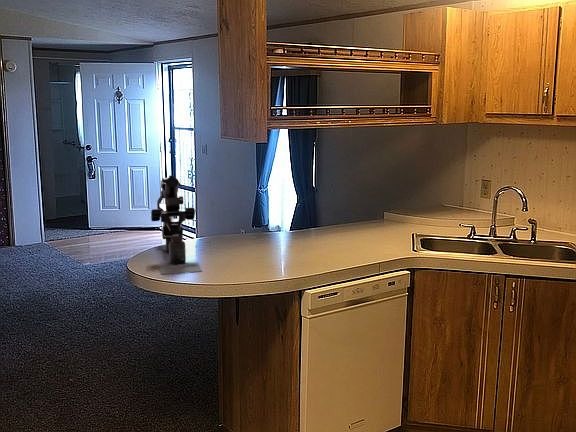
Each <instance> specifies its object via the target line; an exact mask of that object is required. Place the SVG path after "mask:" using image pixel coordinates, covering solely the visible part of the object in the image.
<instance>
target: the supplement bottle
mask: <svg viewBox="0 0 576 432" xmlns="http://www.w3.org/2000/svg"><path fill="white" fill-rule="evenodd" d="M183 235H184V234H183ZM183 235H180V234H175V235H171V240H172V241H171V242H170V243H169V253H168V254H169V255H168V256H169V257H168V258H169V259H168V260H169V264H170V265H172V264H173V265H172V266H179V265H178V264H181V265H185V263H186V262H187V256H186V252H187V251H186V243H185V241H184V238H183V237H184V236H183Z"/></svg>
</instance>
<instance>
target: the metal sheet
mask: <svg viewBox="0 0 576 432" xmlns="http://www.w3.org/2000/svg"><path fill="white" fill-rule="evenodd" d="M159 271H160V274H161V275H172V274H173V275H174V274H175V273H176V274H185V272H190V273H202V272H203V269H202V268H201V266H200V265H199V264H197V263H196V264H181V265H170V266H169V265H168V266H167V265H166V266H159Z"/></svg>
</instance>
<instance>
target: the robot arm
mask: <svg viewBox="0 0 576 432" xmlns="http://www.w3.org/2000/svg"><path fill="white" fill-rule="evenodd" d="M180 186H181V182H180V181H179V180H178V178H176V177H174V175H169V176H168V177H162V179H161V180H160V189H161V190H160V196H159V198H158V199H157V201H156V208H155V209H154V208H153V209H151V210H150V211H151V212H150V213H151V214H150V216H151V217H150V218H151V219H150V220H151V221H152V222H161V223H163V225H162V228H161V229H162V230H161V236H162V240H165V249H162V251H163V252H165V253H168V254H169V243H170V242H171V241H172V240H171V235H175V234H180V235H184V228H183V226H182V224H183V222H185V221H186V220H187V221H188V220H189V221H190V220H195V215H196V210H195V208H194V207H185V208H184V210H180V209H181V207H180V205H183V204H184V196H181V195H180V196H179V195H178V192H179V188H180ZM163 199H164V202H163V203H162V201H163ZM175 217H178V218H175Z"/></svg>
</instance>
